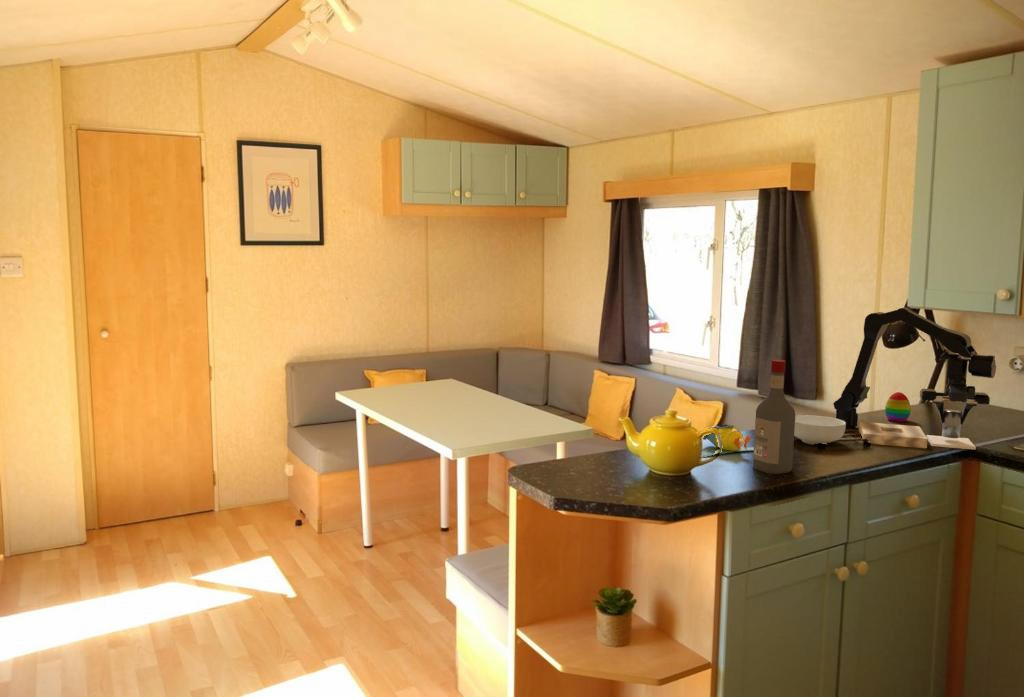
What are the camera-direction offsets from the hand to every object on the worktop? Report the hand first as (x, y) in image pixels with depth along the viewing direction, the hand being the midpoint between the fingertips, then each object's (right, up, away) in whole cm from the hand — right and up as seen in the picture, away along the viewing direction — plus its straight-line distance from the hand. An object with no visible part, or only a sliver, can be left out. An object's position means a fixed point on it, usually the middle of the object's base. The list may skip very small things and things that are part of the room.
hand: (951, 423), depth 265 cm
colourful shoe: (-73, -8, -13) cm, 75 cm away
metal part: (0, -4, 0) cm, 4 cm away
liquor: (-66, -10, -32) cm, 74 cm away
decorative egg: (-2, -2, +34) cm, 34 cm away
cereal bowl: (-42, -6, 0) cm, 43 cm away
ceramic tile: (0, -6, +1) cm, 6 cm away
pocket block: (-17, -5, +5) cm, 18 cm away
